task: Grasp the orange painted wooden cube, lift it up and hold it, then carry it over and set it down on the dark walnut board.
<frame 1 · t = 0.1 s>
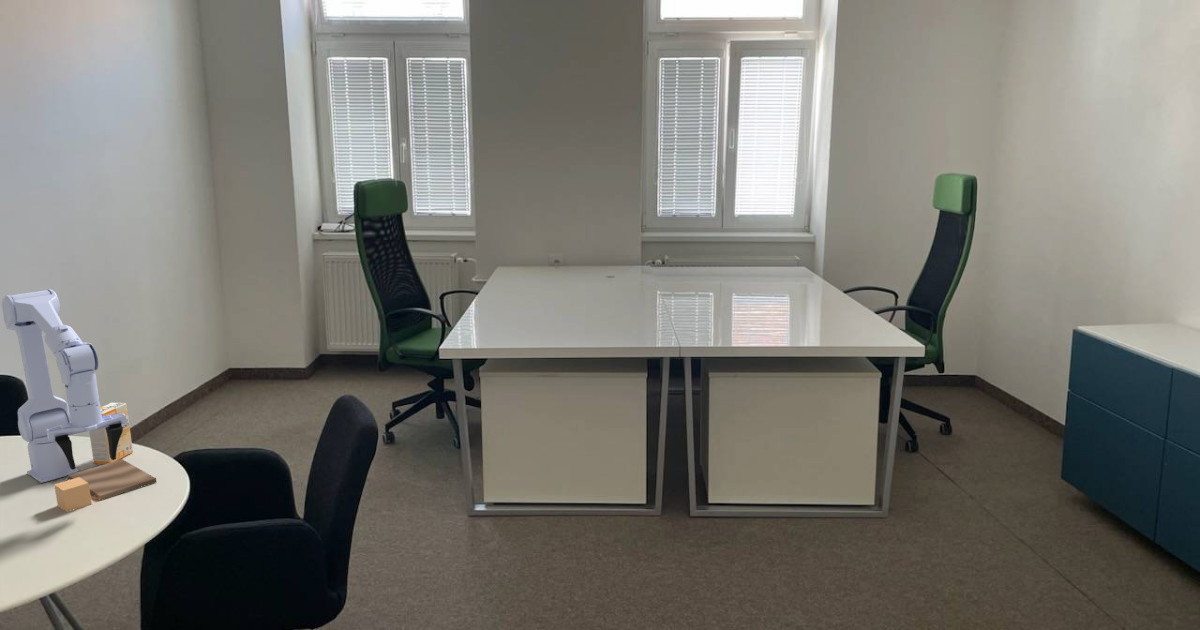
hand: (93, 463, 190), 10 cm above the table, tool pointing down, fingers open, 7 cm apart
orange cube: (74, 505, 193), on the table
walnut board: (112, 480, 206), on the table
supplement box: (114, 459, 219), on the table
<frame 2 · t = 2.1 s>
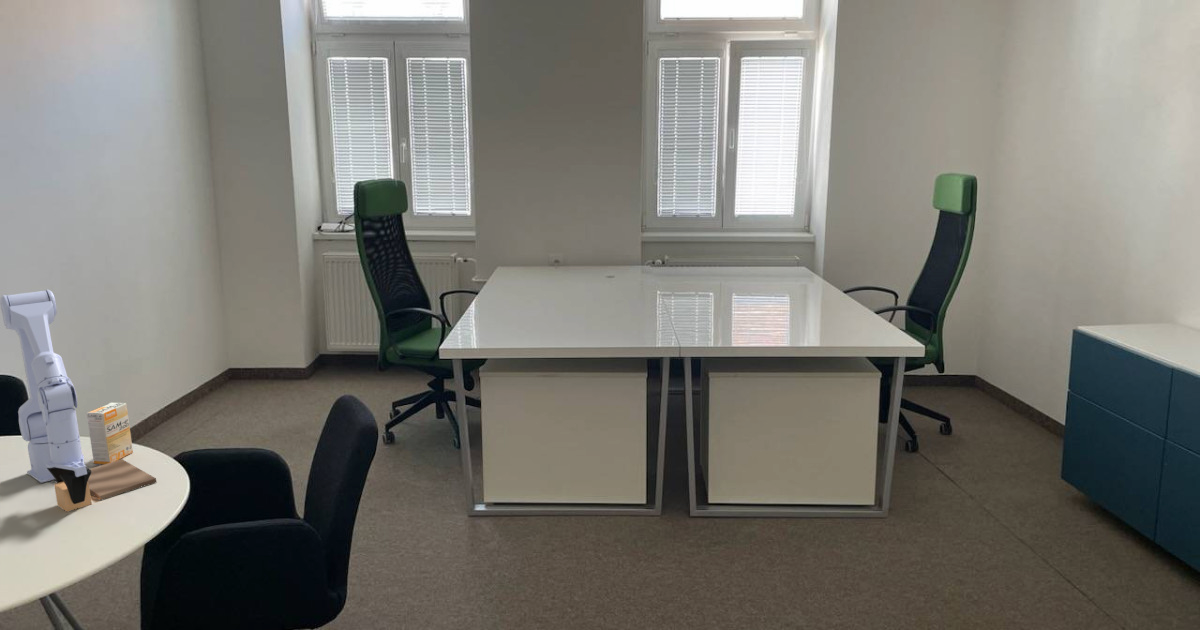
hand: (73, 498, 193), 1 cm above the table, tool pointing down, fingers closed on orange cube, 5 cm apart
orange cube: (74, 504, 193), on the table, touching gripper
everything else where it was.
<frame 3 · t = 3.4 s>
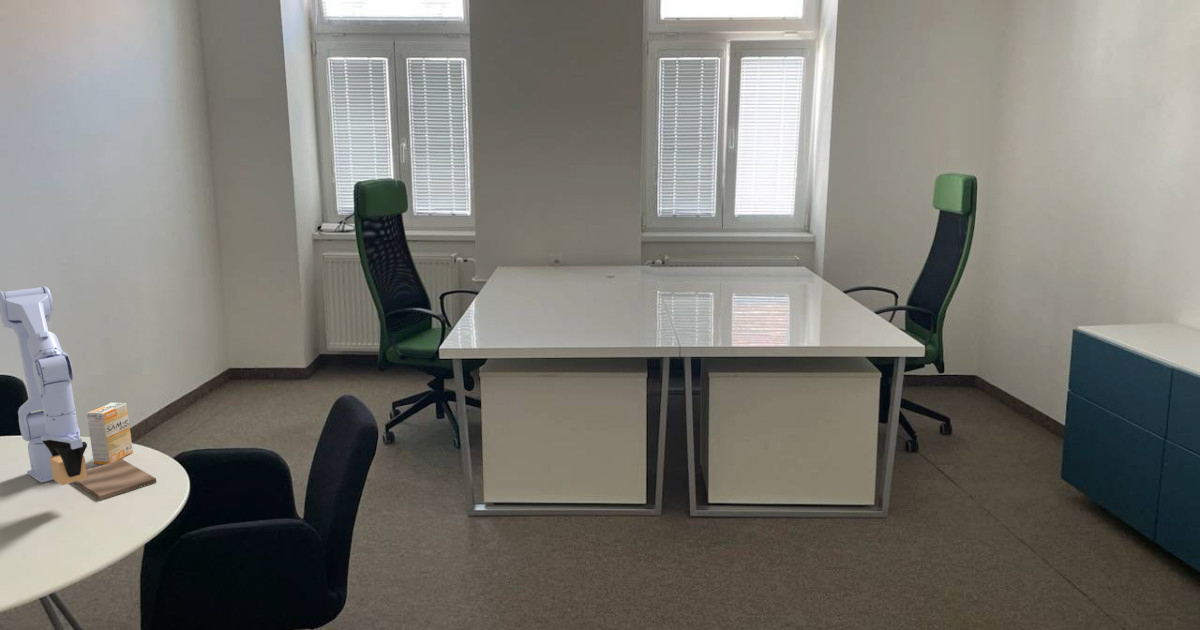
hand: (69, 472, 192), 8 cm above the table, tool pointing down, fingers closed on orange cube, 5 cm apart
orange cube: (70, 478, 192), point 6 cm above the table, touching gripper
everything else where it was.
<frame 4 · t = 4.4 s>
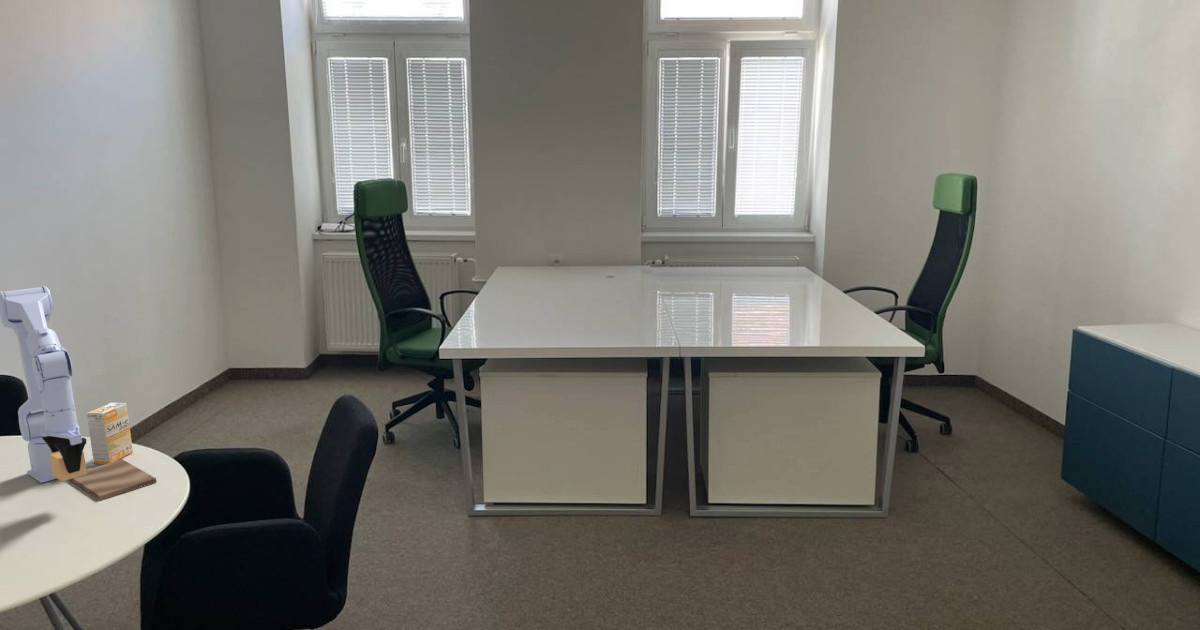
hand: (68, 468, 192), 8 cm above the table, tool pointing down, fingers closed on orange cube, 5 cm apart
orange cube: (69, 474, 192), point 7 cm above the table, touching gripper
everything else where it was.
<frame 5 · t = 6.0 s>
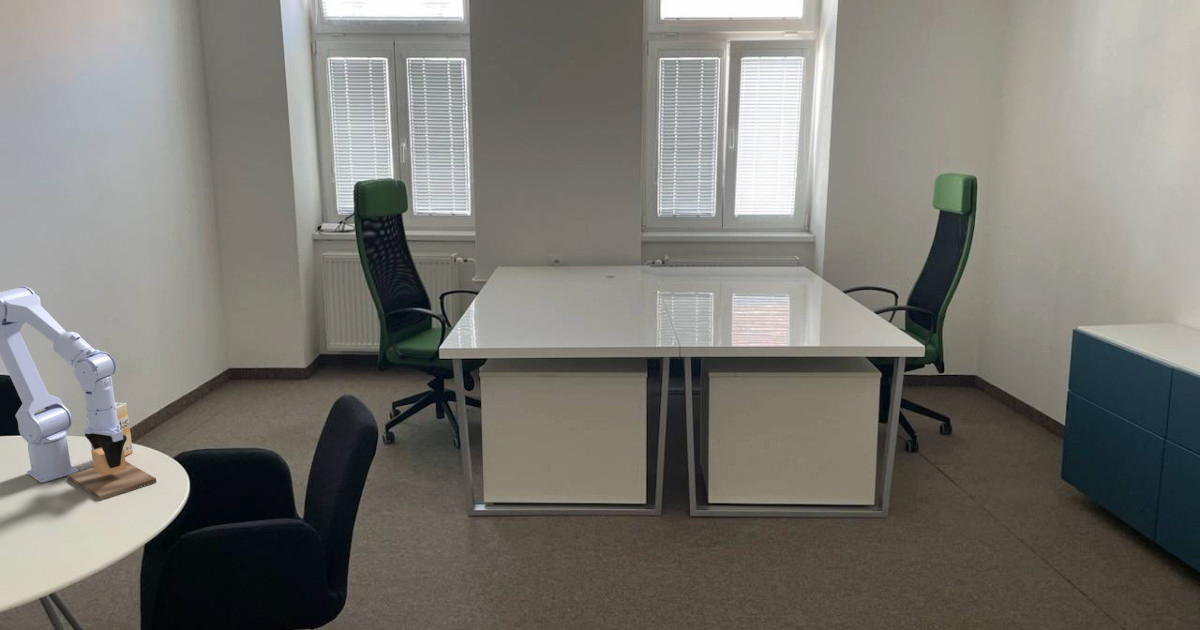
hand: (109, 463, 205), 4 cm above the table, tool pointing down, fingers closed on orange cube, 5 cm apart
orange cube: (110, 469, 205), point 3 cm above the table, touching gripper
everything else where it was.
when the fingers open (4 cm above the table, at t = 7.0 s): orange cube drops 1 cm, resting on walnut board.
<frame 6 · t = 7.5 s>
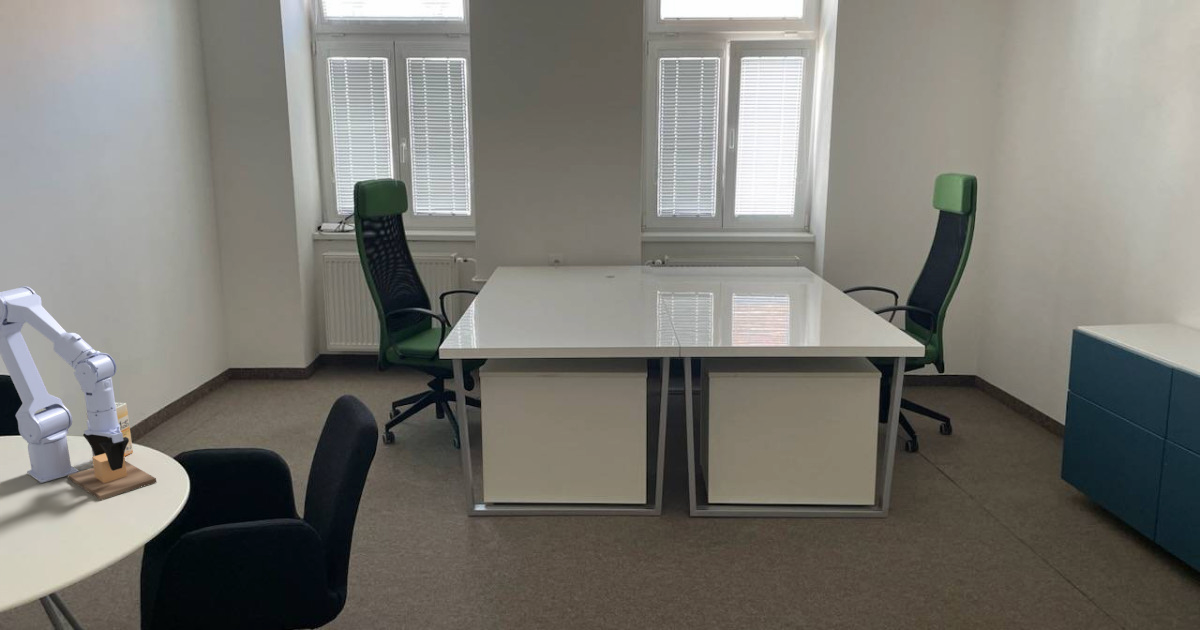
hand: (109, 464, 205), 4 cm above the table, tool pointing down, fingers open, 7 cm apart
orange cube: (111, 476, 205), point 1 cm above the table, touching walnut board
everything else where it was.
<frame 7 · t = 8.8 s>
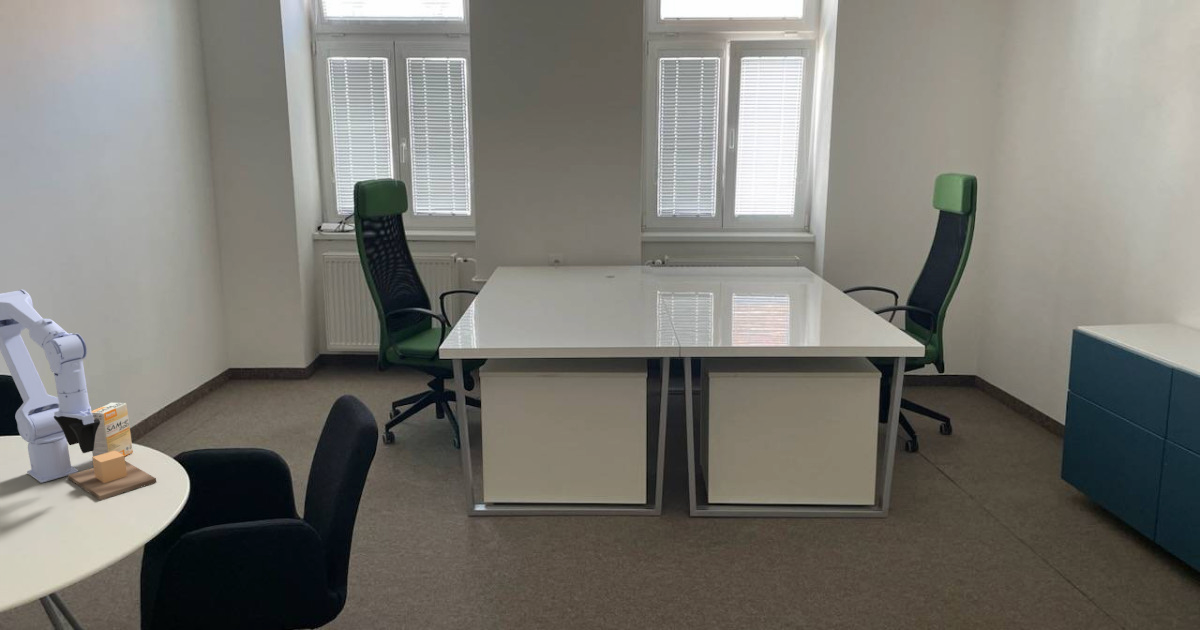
hand: (81, 447, 200), 9 cm above the table, tool pointing down, fingers open, 7 cm apart
nothing on the table moved.
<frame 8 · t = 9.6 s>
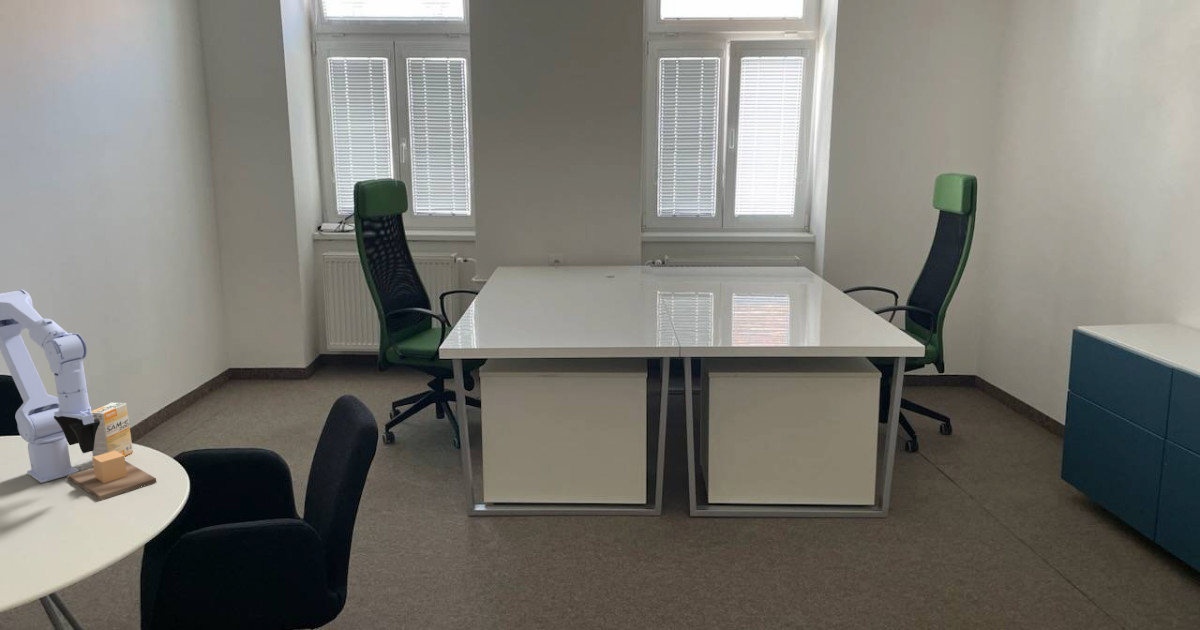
hand: (81, 447, 200), 9 cm above the table, tool pointing down, fingers open, 7 cm apart
nothing on the table moved.
at the end: orange cube inside the target area on the walnut board (0.1 cm from its centre), point 1.0 cm above the walnut board's base; orange cube tilted 0°; the gripper is holding nothing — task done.
